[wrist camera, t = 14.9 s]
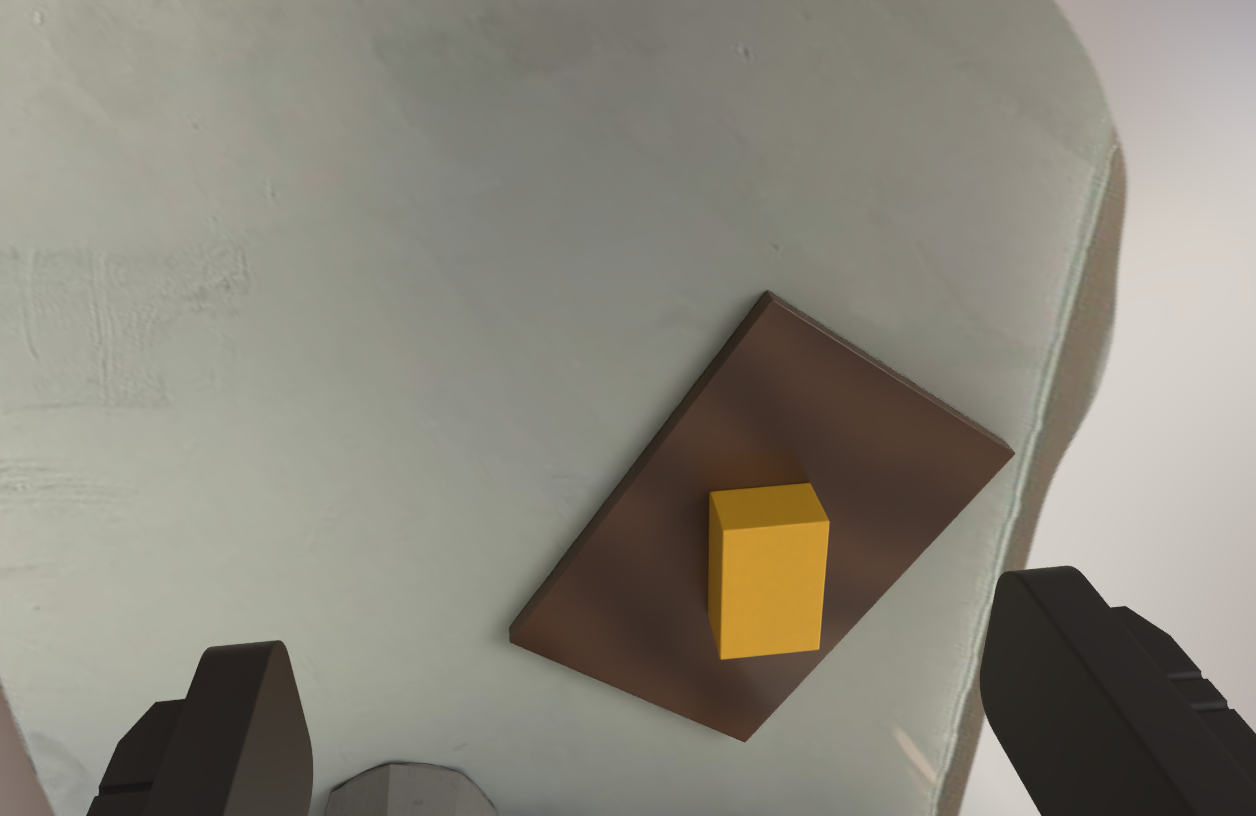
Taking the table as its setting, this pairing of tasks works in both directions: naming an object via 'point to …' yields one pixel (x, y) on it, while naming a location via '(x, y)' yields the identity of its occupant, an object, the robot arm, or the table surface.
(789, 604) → the block
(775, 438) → the desk pad
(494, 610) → the table surface
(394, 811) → the coffeepot
